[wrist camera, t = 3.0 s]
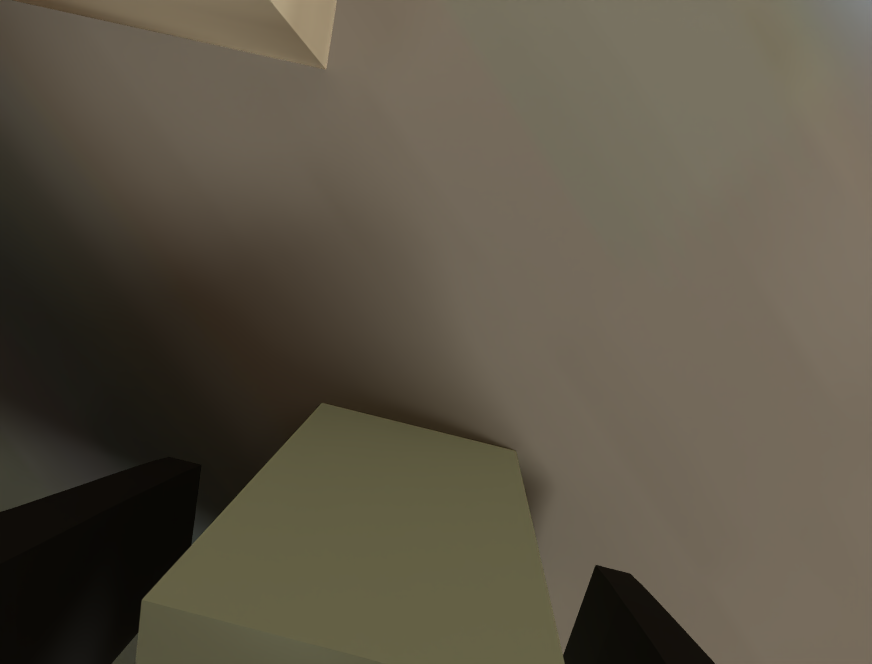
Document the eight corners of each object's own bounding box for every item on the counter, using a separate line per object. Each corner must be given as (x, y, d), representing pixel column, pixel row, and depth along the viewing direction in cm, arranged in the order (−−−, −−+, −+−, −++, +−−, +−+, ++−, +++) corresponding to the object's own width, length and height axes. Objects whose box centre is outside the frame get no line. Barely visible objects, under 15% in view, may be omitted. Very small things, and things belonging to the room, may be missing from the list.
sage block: (291, 567, 10) (111, 900, 5) (322, 402, 9) (142, 600, 4) (467, 613, 10) (466, 998, 5) (516, 449, 9) (576, 712, 4)
